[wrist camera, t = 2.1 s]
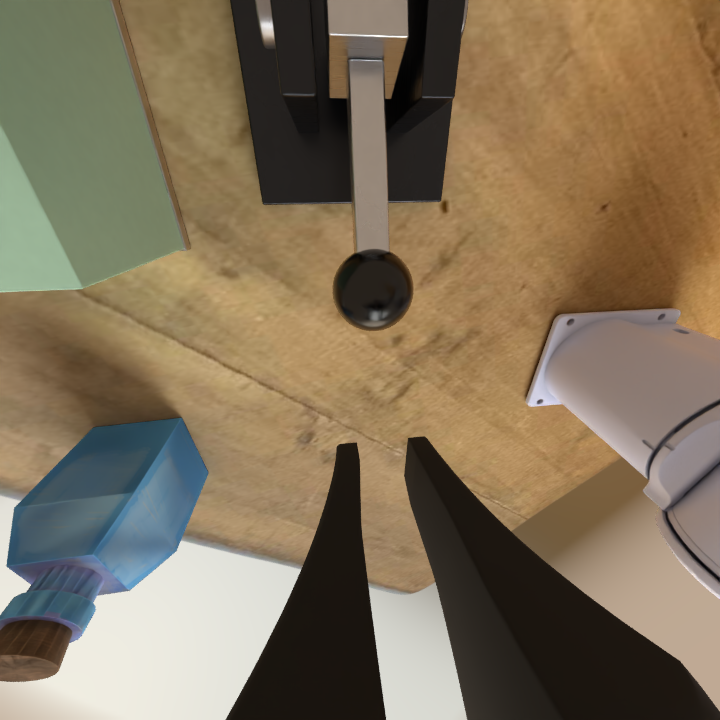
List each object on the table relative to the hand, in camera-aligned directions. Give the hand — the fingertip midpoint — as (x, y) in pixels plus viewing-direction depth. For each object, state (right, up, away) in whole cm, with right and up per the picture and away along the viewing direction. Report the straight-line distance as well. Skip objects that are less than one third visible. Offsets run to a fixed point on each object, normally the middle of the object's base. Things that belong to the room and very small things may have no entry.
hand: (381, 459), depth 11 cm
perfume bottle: (-17, -3, +12) cm, 21 cm away
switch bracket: (-1, +16, +2) cm, 17 cm away
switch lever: (-1, +10, 0) cm, 10 cm away
